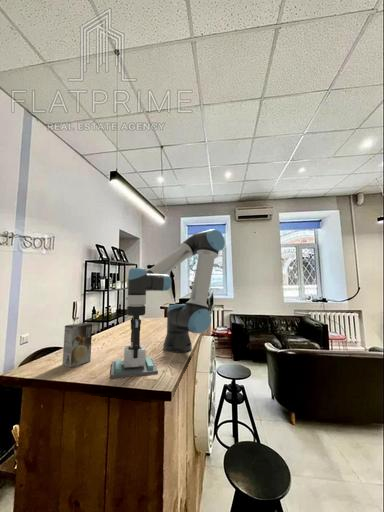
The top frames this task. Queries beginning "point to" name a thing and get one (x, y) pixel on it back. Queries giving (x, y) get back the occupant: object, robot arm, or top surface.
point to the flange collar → (129, 356)
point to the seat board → (133, 368)
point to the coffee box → (77, 344)
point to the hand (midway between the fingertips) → (134, 362)
